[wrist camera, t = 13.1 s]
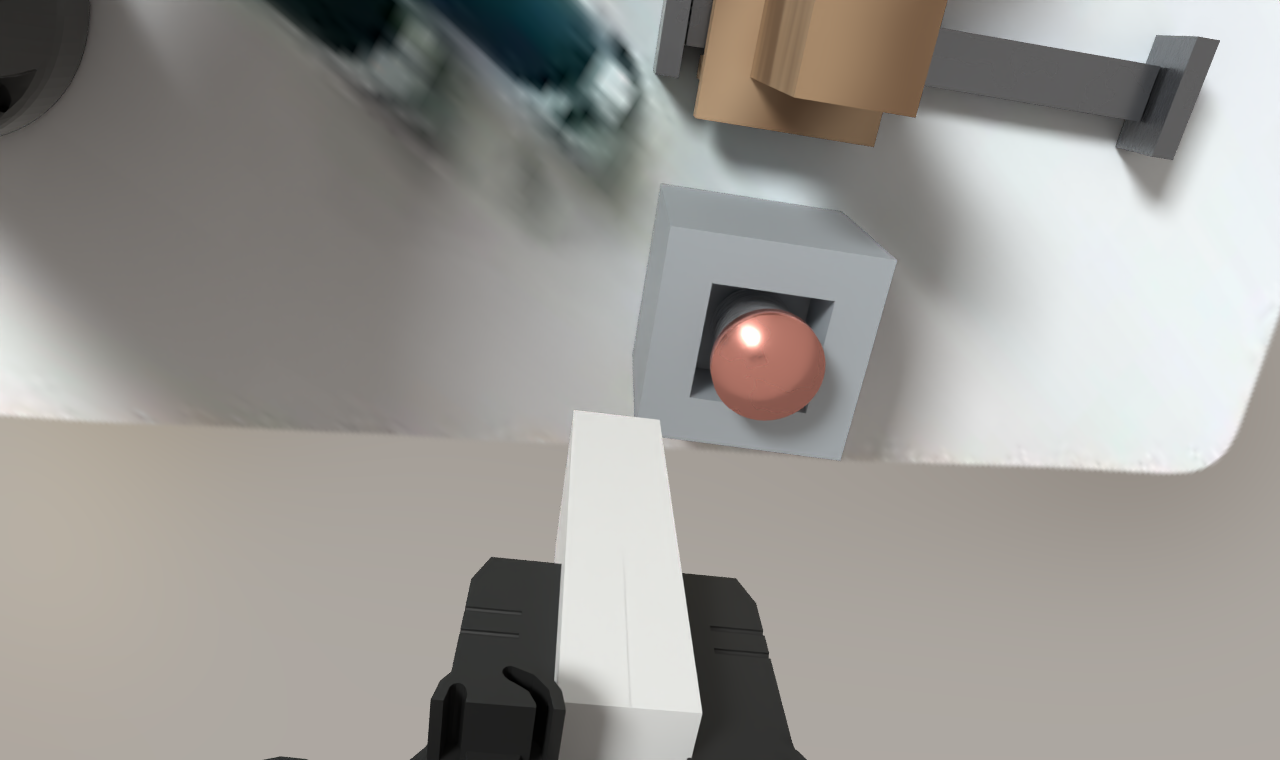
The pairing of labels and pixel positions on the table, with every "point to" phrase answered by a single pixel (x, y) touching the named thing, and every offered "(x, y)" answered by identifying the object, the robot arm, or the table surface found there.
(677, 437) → the housing
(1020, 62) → the rail
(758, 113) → the carriage
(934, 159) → the table surface
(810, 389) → the plunger
